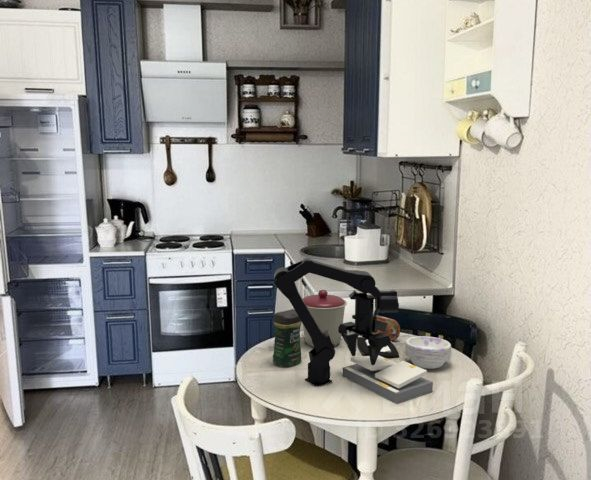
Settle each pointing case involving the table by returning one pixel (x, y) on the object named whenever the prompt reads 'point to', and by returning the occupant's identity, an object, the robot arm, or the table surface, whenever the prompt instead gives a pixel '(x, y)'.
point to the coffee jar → (287, 338)
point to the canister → (325, 314)
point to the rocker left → (379, 365)
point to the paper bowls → (428, 351)
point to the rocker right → (400, 374)
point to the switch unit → (386, 384)
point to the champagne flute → (282, 302)
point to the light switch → (385, 352)
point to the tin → (390, 327)
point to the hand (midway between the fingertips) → (363, 360)
